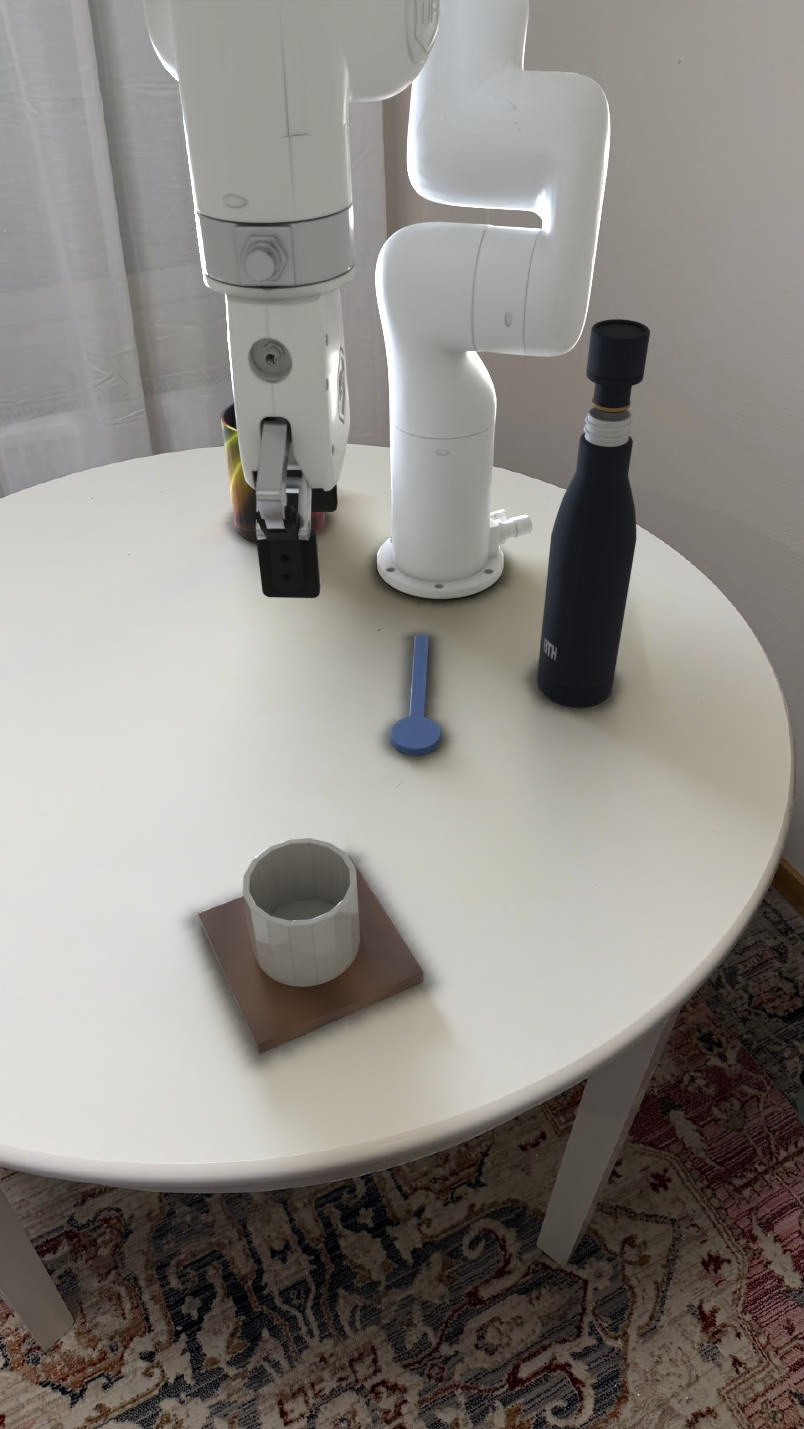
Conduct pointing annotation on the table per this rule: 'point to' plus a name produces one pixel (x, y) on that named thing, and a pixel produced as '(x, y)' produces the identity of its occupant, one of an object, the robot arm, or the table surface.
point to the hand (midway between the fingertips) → (303, 549)
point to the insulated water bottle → (594, 530)
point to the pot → (302, 911)
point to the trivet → (300, 1010)
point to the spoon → (417, 710)
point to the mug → (239, 488)
